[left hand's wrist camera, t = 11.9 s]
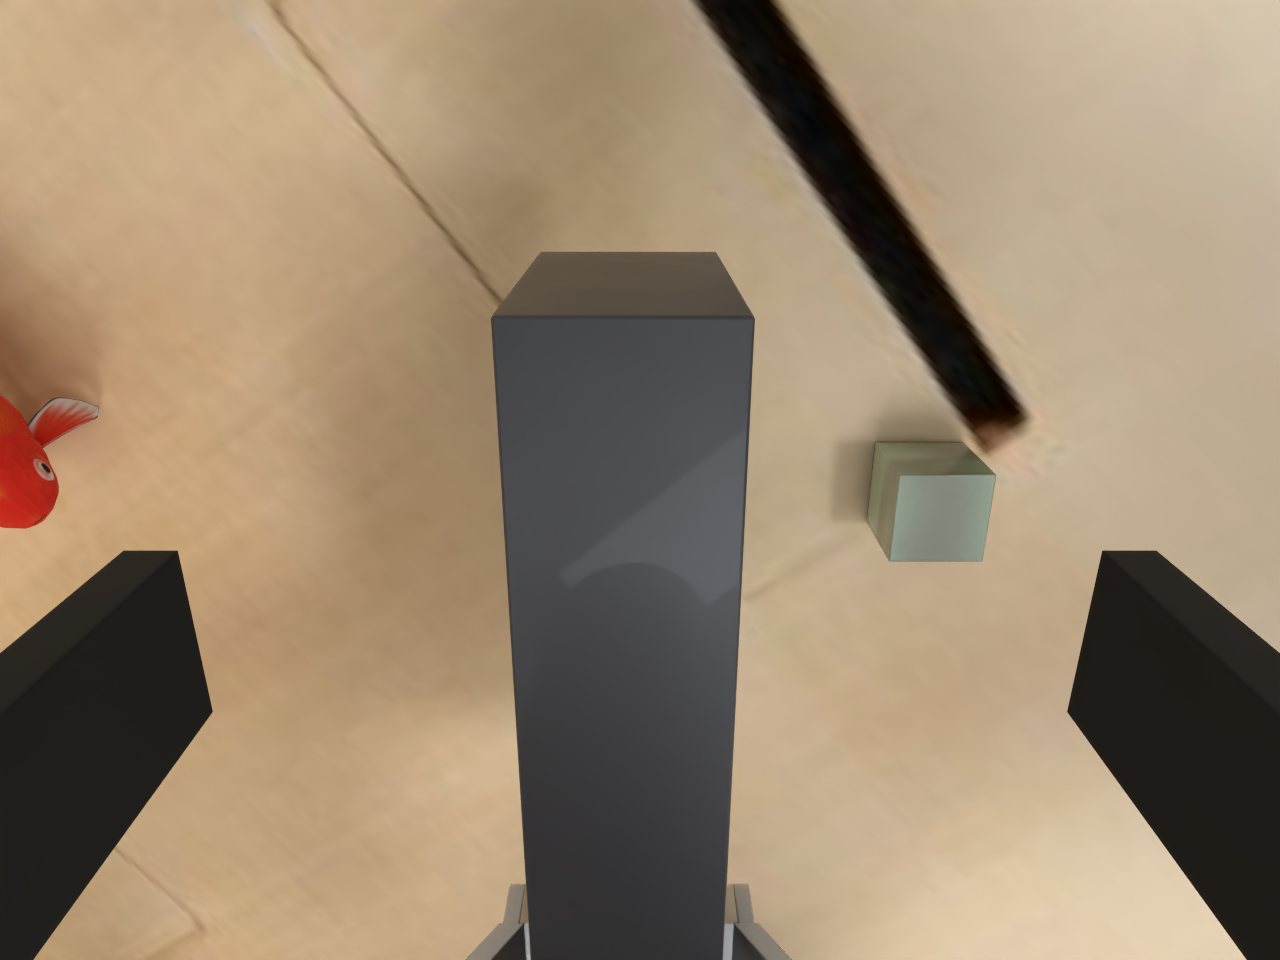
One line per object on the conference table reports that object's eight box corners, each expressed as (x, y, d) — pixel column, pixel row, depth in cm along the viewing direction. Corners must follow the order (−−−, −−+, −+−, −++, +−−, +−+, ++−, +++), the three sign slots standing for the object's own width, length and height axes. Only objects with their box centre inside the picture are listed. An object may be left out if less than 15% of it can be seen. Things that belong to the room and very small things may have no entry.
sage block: (963, 441, 40) (997, 474, 36) (951, 522, 41) (982, 561, 38) (875, 441, 40) (899, 474, 36) (866, 522, 41) (888, 561, 38)
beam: (716, 251, 25) (754, 316, 17) (695, 891, 34) (714, 1141, 26) (539, 251, 25) (490, 316, 17) (565, 891, 34) (541, 1141, 26)
